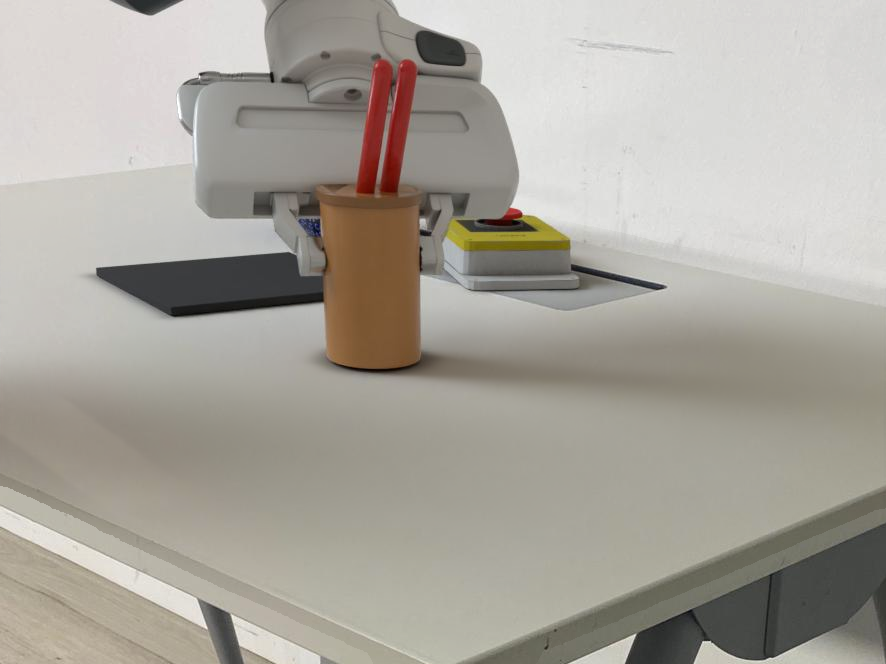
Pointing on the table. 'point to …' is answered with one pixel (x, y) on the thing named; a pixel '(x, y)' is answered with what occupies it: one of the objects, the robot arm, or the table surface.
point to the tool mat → (217, 283)
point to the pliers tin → (375, 241)
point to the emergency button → (508, 254)
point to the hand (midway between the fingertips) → (374, 270)
